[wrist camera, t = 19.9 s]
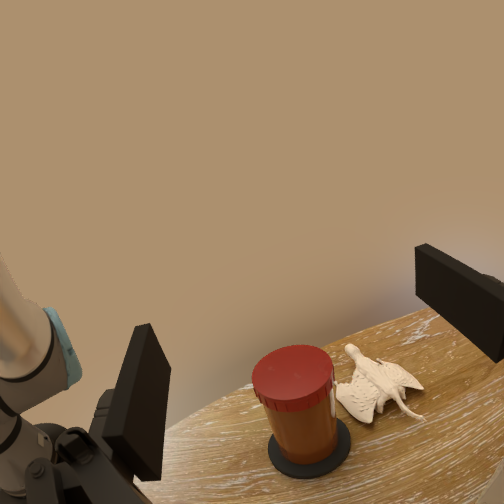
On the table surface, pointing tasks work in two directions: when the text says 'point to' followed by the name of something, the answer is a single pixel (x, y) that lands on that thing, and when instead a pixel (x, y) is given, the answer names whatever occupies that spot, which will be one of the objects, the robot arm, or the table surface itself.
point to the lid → (293, 378)
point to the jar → (306, 432)
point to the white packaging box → (494, 488)
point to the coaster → (315, 468)
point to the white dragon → (374, 386)
